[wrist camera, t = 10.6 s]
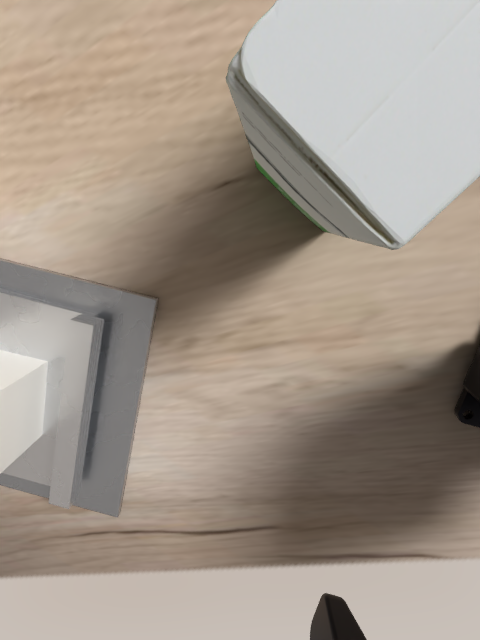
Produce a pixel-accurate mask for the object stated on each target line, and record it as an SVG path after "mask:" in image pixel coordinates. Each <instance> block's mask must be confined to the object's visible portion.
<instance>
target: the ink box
mask: <svg viewBox="0 0 480 640" xmlns="http://www.w3.org/2000/svg"><path fill="white" fill-rule="evenodd" d="M226 81H227V84H228V87H229V89H230V92H231V95H232V98H233V101H234V103H235V106H236V108H237V111H238V114H239V117H240V120H241V123H242V126H243V128H244V131H245V134H246V137H247V140H248V143H249V145H250V148H251V151H252V154H253V157H254V160H255V164H256V167H257V169H258V170H259V171H260V172H261V173H262V174H263V175H264V176H265V177H266V178H267V179H268V180H269V181H270V182H271V183H272V184H273V185H274V186H275V187H276V188H277V189H278V190H279V191H280V192H281V193H282V194H283V195H284V196H285V197H286V198H287V199H288V200H289V201H290V202H291V203H292V204H293V205H294V206H295V207H296V208H297V209H298V210H299V211H301V212H302V213H303V214H304V215H305V216H306V217H307V218H308V219H309V220H311V221H312V222H313V223H314V224H315V225H316V226H318V227H319V228H320V229H321V230H323V231H324V232H328V233H332V234H336V235H340V236H343V237H346V238H351V239H354V240H357V241H361V242H365V243H369V244H373V245H377V246H380V247H385V248H388V249H391V250H394V249H399V248H401V247H402V246H404V245H405V244H406V243H408V242H409V241H410V240H411V239H412V238H413V237H414V236H415V235H416V234H417V233H418V232H420V231H421V230H422V229H423V228H424V227H425V226H426V225H427V224H428V223H429V222H430V221H432V220H433V219H434V218H435V217H436V216H437V215H438V214H439V213H440V212H441V211H442V210H444V209H445V208H446V207H447V206H448V205H449V204H450V203H451V202H452V201H453V200H454V199H455V198H457V197H458V196H459V195H460V194H461V193H462V192H463V191H464V190H465V189H466V188H467V187H468V186H470V185H471V184H472V183H473V182H474V181H475V180H476V179H477V178H478V177H479V176H480V0H277V1H276V2H275V3H274V5H273V6H272V7H271V9H270V10H269V11H268V12H267V13H266V14H264V15H263V16H262V17H261V18H260V19H259V20H258V22H257V23H256V24H255V25H254V27H253V28H252V29H251V30H250V31H249V33H248V35H247V36H246V38H245V40H244V42H243V45H242V47H241V48H240V50H239V51H238V52H237V54H236V55H235V56H234V58H233V59H232V61H231V62H230V64H229V67H228V73H227V76H226Z"/></svg>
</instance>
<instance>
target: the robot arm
mask: <svg viewBox="0 0 480 640" xmlns="http://www.w3.org/2000/svg"><path fill="white" fill-rule="evenodd" d="M463 385H464V389H463V392H462V394H461V396H460V399H459V401H458V403H457V405H456V408H455V415H456V417H457V418H458V419H459V420H460V421H461V422H462V423H465V424H469V425H472V426H476V427H480V346H479V348H478V350H477V353H476V355H475V357H474V359H473V362H472V364H471V366H470V369H469V371H468V373H467V376H466V378H465V380H464V383H463ZM467 410H470V413H469V414H468V415H466V416H464V415H463V413H464V412H465V411H467ZM310 640H366V638H365V636H364V634H363V632H362V631H361V629H360V627H359V625H358V623H357V622H356V620H355V618H354V616H353V615H352V613H351V611H350V610H349V608H348V606H347V604H346V602H345V601H344V600H343V599H342V598H341V597H338V596H335V595H331V594H327V593H325V594H323V595H322V597H321V599H320V602H319V604H318V607H317V609H316V612H315V614H314V617H313V620H312V624H311V631H310Z"/></svg>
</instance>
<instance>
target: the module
mask: <svg viewBox="0 0 480 640" xmlns="http://www.w3.org/2000/svg"><path fill="white" fill-rule="evenodd" d="M47 367H48V361H44V360H40V359H36V358H32V357H28V356H24V355H19V354H15V353H11V352H7V351H3V350H0V474H1V473H2V472H3V471H4V470H5V469H6V468H7V467H8V466H9V465H10V464H11V463H13V462H14V461H15V460H16V459H17V458H18V457H19V456H20V455H21V454H22V453H23V452H25V451H26V450H27V449H28V448H29V447H30V446H31V445H32V444H33V443H34V442H35V441H37V440H38V439H39V438H40V437H41V436H42V432H43V419H44V406H45V393H46V380H47Z"/></svg>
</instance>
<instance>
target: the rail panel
mask: <svg viewBox="0 0 480 640" xmlns="http://www.w3.org/2000/svg"><path fill="white" fill-rule="evenodd" d="M158 299H159V298H155V297H151V296H147V295H143V294H139V293H135V292H131V291H127V290H123V289H119V288H116V287H112V286H108V285H104V284H100V283H96V282H92V281H88V280H84V279H80V278H76V277H72V276H68V275H64V274H60V273H56V272H53V271H49V270H45V269H41V268H37V267H33V266H29V265H25V264H21V263H17V262H13V261H9V260H5V259H1V258H0V350H3V351H7V352H11V353H15V354H19V355H24V356H28V357H32V358H36V359H40V360H44V361H48V367H47V380H46V393H45V406H44V419H43V432H42V436H41V437H40V438H39V439H38V440H37V441H35V442H34V443H33V444H32V445H31V446H30V447H29V448H28V449H27V450H26V451H25V452H23V453H22V454H21V455H20V456H19V457H18V458H17V459H16V460H15V461H14V462H13V463H11V464H10V465H9V466H8V467H7V468H6V469H5V470H4V471H3V472H2V473H1V474H0V485H2V486H6V487H9V488H13V489H17V490H20V491H24V492H28V493H31V494H35V495H38V496H42V497H46V498H49V504H53V505H56V506H60V507H63V508H67V509H69V508H70V507H71V506H72V505H75V506H78V507H82V508H85V509H89V510H93V511H96V512H100V513H103V514H107V515H111V516H114V517H118V516H119V514H120V511H121V506H122V500H123V495H124V489H125V483H126V478H127V472H128V467H129V461H130V455H131V450H132V444H133V439H134V433H135V427H136V422H137V416H138V411H139V405H140V399H141V394H142V388H143V383H144V377H145V372H146V366H147V360H148V355H149V349H150V344H151V338H152V332H153V327H154V321H155V316H156V310H157V304H158Z"/></svg>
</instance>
